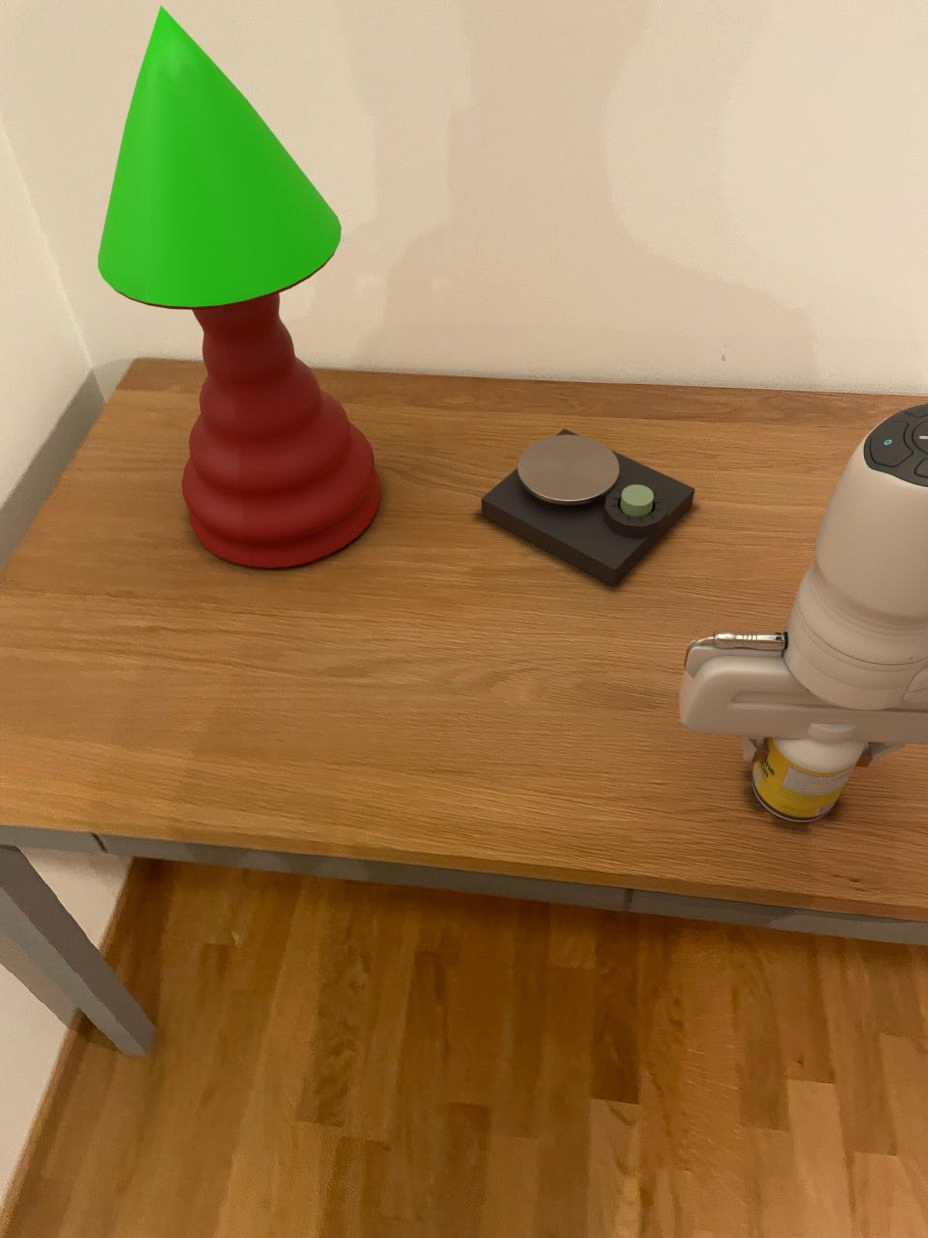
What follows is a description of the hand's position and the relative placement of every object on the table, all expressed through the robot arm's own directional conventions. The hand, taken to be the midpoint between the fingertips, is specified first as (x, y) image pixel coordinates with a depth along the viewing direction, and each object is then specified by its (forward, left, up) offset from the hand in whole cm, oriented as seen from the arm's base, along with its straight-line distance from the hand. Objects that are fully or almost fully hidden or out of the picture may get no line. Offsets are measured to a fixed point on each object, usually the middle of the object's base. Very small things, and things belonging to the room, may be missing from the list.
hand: (806, 756), depth 69 cm
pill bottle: (0, 0, -5) cm, 5 cm away
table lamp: (+47, -31, -5) cm, 57 cm away
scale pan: (+18, -32, -1) cm, 37 cm away
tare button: (+11, -28, -1) cm, 30 cm away
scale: (+16, -31, -5) cm, 35 cm away
